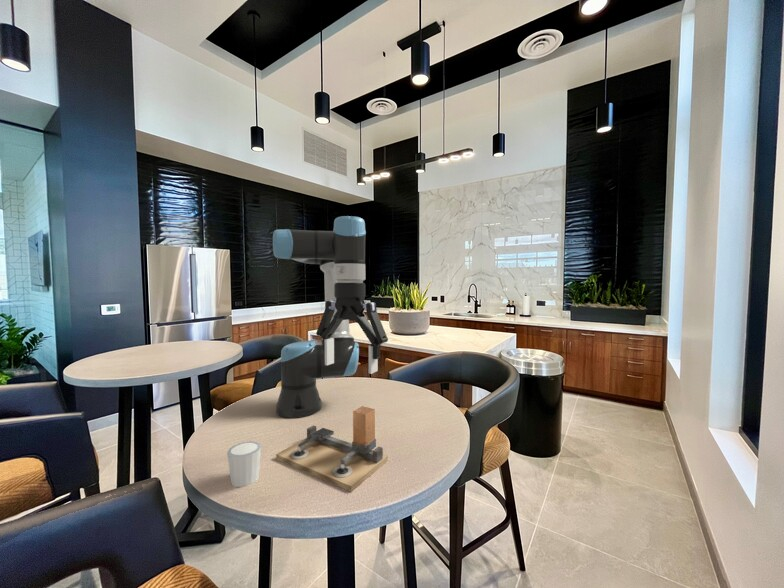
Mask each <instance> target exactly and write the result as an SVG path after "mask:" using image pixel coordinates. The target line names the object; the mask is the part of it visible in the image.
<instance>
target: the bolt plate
mask: <svg viewBox="0 0 784 588" xmlns="http://www.w3.org/2000/svg"><path fill="white" fill-rule="evenodd" d="M316 431H318V430H317V426H316V425H311V426H310V427H309V426H308V428H306V437H305V438H304V439H302V440H300V441H298V442H296V443H294V444H293V445H290V446H289V447H287V448H285V449H284V450H283V449H282V451H279V452H278V453H276V455H275V457H276V460H277V461H280V462H282V463H285V464H287V465H289V466H291V467H293V468H295V469H298V470H300V471H302V472H305V473H308V474H310V475H312V476H314V477H317V478H319V479H321V480H323V481H325V482H328V483H330V484H332V485H335V486H337V487H339V488H341V489H344V490H346V491H348V492H351V493H352V492H353V491H355V490H356V489H357V488H358V487H359V486H360V485H362V483H363V482H365V481H366V480H367V479H368V478H369V477H370V476H372V475H373V474H374V473H375V472H376V471H378V470H379V469H380V468H381V467H382V466H383V465H385V464H386V463H387V462H388V461H389V456H388V455H387V454H385V453H384V452H383V450H384V449H383V447H381V446H376V447H375V448H374V449H372V450H371V451H370V452H368V453H367V454H366V455H365V454H362V453H360V454H359V455H357V456H356V457H355V458H353V459H352V460H350V461H349V462H348V463H346V464H345V470H344V471H341V459H342V458H343V457H344V456H346V455H347V454H349V453H350V452H352V451H353V450H352V442H349V441H346V440H342V439H339V438H336V437H333V436H332V435H331V436H330V437H328V438H326V439H324V440H323V441H321V440H316V441H315V442H313V443H311V444H309V445H307V446H306V447H304V448H302V449H301V453H300V454H298V444H300V443H302V442H303V441H305V440H307V439H309V438H311V434H312V433H314V432H316Z"/></svg>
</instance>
